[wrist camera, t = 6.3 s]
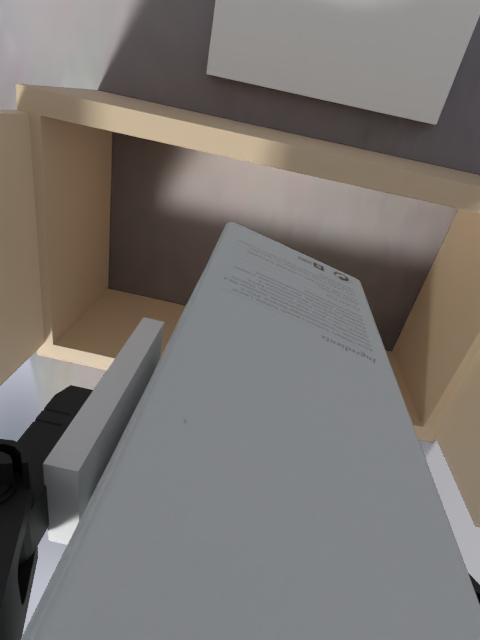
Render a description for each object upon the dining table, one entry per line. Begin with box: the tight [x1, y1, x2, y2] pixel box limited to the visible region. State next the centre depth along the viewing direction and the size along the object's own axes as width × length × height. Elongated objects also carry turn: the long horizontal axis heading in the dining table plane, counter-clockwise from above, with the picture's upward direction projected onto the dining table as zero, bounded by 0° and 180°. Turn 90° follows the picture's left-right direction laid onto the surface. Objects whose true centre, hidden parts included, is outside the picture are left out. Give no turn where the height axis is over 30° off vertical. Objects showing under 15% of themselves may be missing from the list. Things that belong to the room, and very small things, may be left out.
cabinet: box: [0, 84, 480, 527], centre depth 21 cm, size 14×24×14 cm, turn 79°
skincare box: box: [21, 221, 480, 640], centre depth 11 cm, size 8×6×15 cm
